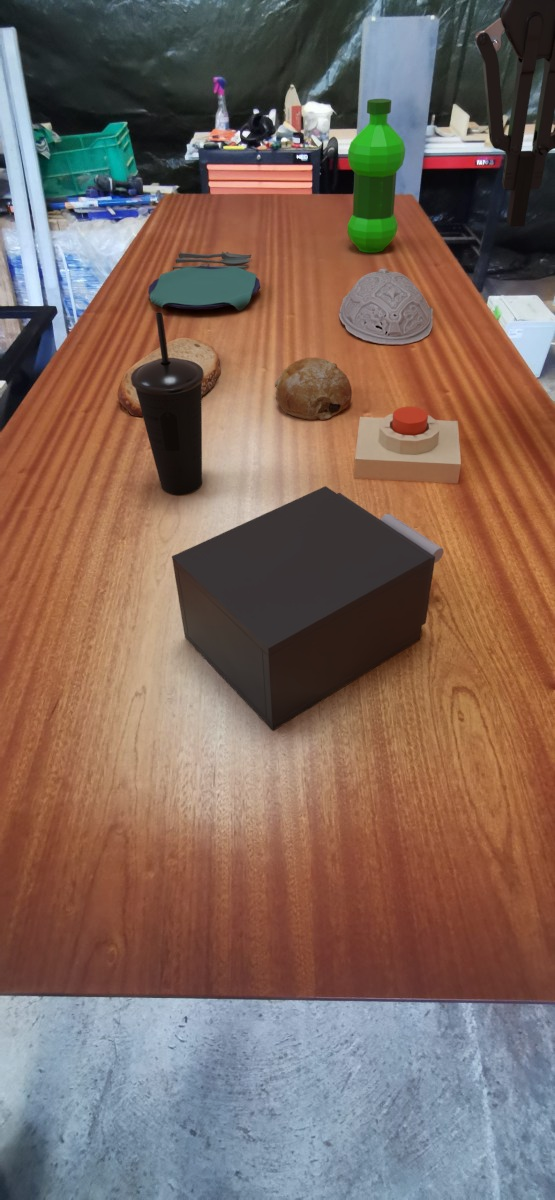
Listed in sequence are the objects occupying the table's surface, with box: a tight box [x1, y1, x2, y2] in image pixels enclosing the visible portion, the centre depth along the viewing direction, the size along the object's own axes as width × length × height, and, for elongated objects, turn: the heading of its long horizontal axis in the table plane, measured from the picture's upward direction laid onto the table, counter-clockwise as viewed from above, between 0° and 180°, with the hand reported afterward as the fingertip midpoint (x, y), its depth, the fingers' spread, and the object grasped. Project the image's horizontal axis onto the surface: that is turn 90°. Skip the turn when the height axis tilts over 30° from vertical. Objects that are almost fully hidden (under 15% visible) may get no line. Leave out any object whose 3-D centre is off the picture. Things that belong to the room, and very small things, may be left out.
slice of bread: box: [116, 337, 222, 417], centre depth 105 cm, size 18×18×4 cm
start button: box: [392, 406, 429, 436], centre depth 86 cm, size 4×4×2 cm
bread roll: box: [274, 357, 353, 421], centre depth 99 cm, size 10×10×8 cm
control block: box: [353, 413, 462, 484], centre depth 88 cm, size 12×10×4 cm
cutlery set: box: [147, 251, 261, 312], centre depth 135 cm, size 20×30×2 cm, turn 176°
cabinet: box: [171, 486, 432, 731], centre depth 64 cm, size 17×14×10 cm
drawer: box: [336, 492, 445, 626], centre depth 66 cm, size 20×12×8 cm, turn 127°
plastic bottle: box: [347, 98, 406, 254], centre depth 140 cm, size 10×10×25 cm
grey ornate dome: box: [338, 267, 434, 346], centre depth 121 cm, size 16×25×7 cm, turn 178°
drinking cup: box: [131, 311, 204, 496], centre depth 80 cm, size 8×8×20 cm
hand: (515, 222), depth 80 cm, fingers closed
